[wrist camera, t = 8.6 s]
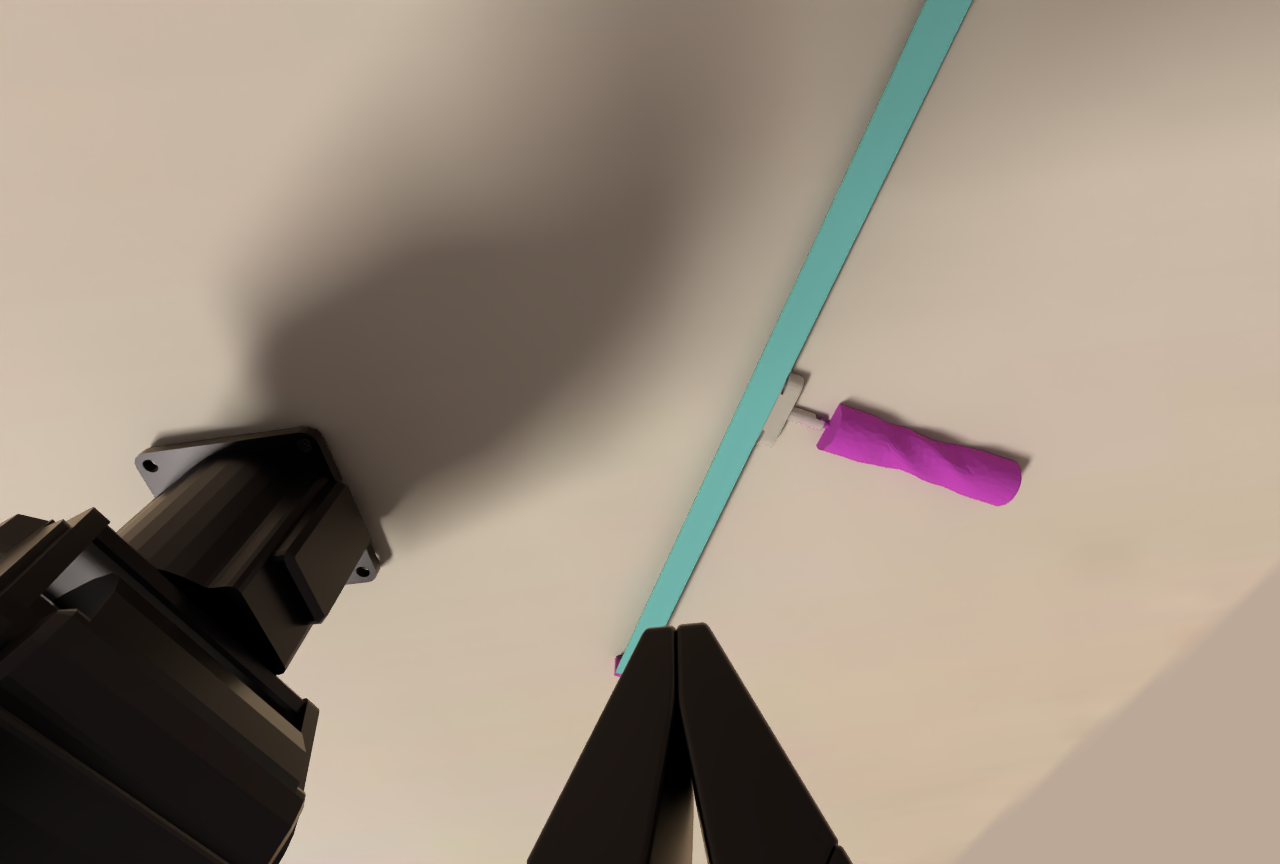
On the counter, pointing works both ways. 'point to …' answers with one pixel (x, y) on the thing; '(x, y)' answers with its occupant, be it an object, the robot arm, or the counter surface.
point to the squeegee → (772, 378)
